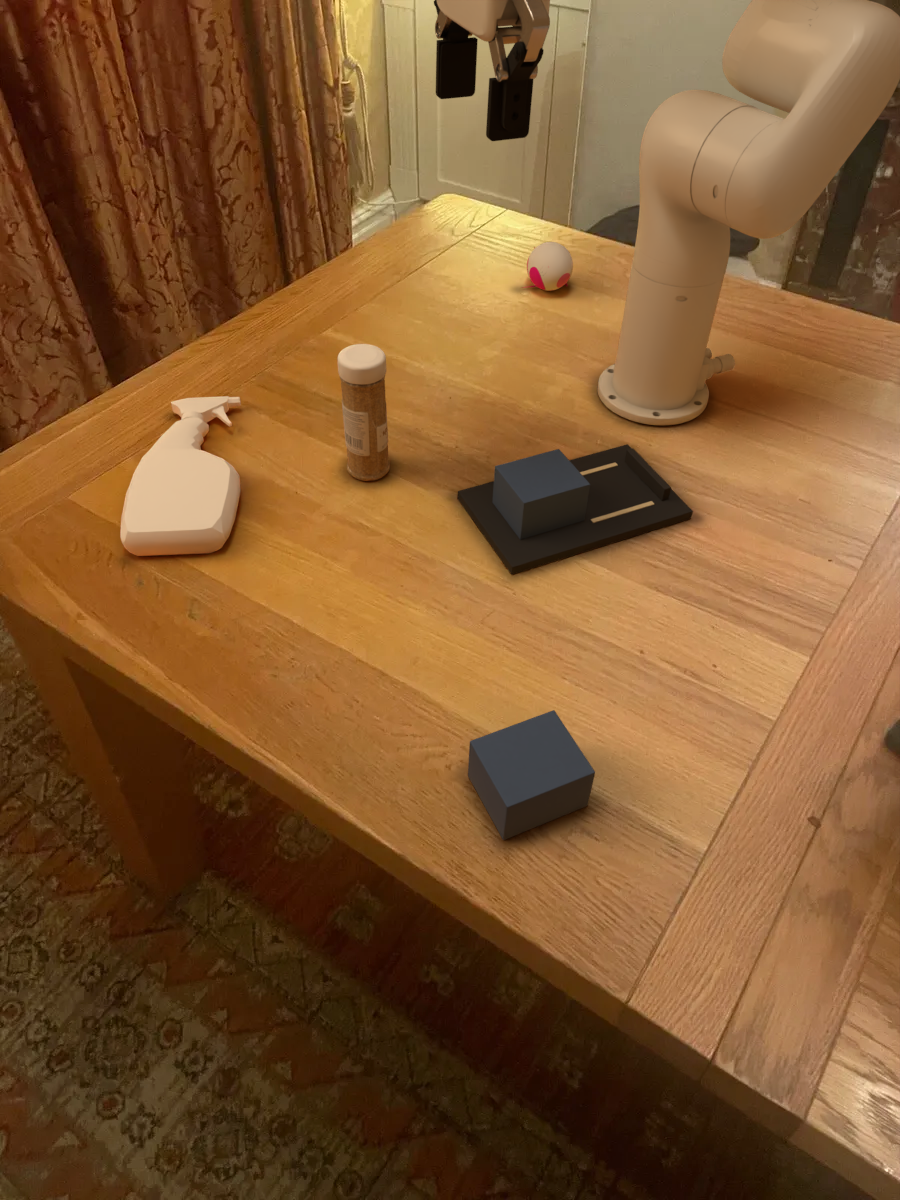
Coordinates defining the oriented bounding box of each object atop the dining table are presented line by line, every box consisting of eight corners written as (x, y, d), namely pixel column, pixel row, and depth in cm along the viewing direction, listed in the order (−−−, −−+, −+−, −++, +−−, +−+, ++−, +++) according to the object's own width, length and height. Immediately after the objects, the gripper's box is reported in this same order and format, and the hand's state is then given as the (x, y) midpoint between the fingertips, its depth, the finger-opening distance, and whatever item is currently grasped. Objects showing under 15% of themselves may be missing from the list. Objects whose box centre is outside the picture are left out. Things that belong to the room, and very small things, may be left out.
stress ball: (525, 297, 127) (501, 261, 123) (573, 262, 125) (550, 224, 121) (540, 322, 122) (515, 285, 117) (591, 285, 120) (567, 247, 115)
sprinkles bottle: (398, 473, 94) (394, 358, 84) (360, 488, 92) (351, 372, 82) (376, 450, 97) (370, 336, 87) (338, 464, 95) (328, 349, 85)
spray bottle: (116, 560, 84) (157, 412, 101) (235, 555, 85) (255, 409, 102) (108, 535, 82) (151, 389, 99) (230, 531, 83) (251, 386, 100)
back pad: (548, 744, 71) (554, 709, 67) (587, 806, 67) (595, 772, 64) (467, 775, 69) (469, 740, 65) (503, 840, 65) (507, 807, 62)
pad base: (626, 451, 97) (634, 408, 93) (691, 518, 90) (703, 474, 86) (457, 498, 91) (458, 454, 87) (511, 575, 84) (515, 530, 80)
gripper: (615, -161, 53) (576, 150, 65) (492, -192, 64) (479, 79, 76) (498, -160, 50) (480, 162, 63) (392, -193, 61) (394, 86, 74)
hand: (480, 116), depth 69 cm, fingers open, 9 cm apart
